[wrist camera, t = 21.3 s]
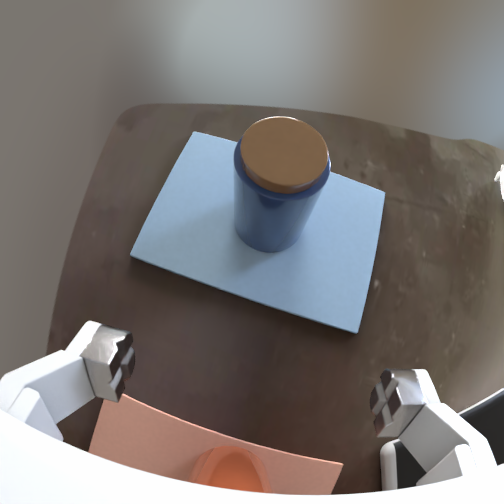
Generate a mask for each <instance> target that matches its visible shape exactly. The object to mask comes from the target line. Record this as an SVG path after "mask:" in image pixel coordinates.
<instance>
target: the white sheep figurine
mask: <svg viewBox="0 0 504 504" xmlns="http://www.w3.org/2000/svg"><path fill="white" fill-rule="evenodd" d="M494 181H495V182H497V181H500V186H501V192H502V196H503V200H504V165H503V164H502V166H501V170H500V172H498V173H497V174H496V177H495V179H494Z"/></svg>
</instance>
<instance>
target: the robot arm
mask: <svg viewBox="0 0 504 504" xmlns="http://www.w3.org/2000/svg"><path fill="white" fill-rule="evenodd" d="M132 343H133V336H132V333H131V332H129V331H125V330H122V329H118V328H115V327H111V326H108V325H104V324H100V323H97V322H93V321H88V322H86V323H85V324H84V326H83V327H82V328H81V330H80V331H79V332H78V334H77V335H76V336H75V338H74V339H73V340H72V342H71V343H70V344H69V346H68V347H67V349H66V350H65V351H62V350H60V351H58V352H55V353H53V354H51V355H48V356H46V357H44V358H41V359H39V360H37V361H34V362H32V363H30V364H27V365H25V366H23V367H20V368H18V369H16V370H14V371H11V372H9V373H6V374H5V375H4V376H3V378H2V379H1V380H0V504H504V463H503V464H501V465H498V466H497V464H496V462H495V459H494V456H493V454H492V451H491V449H490V446H489V444H488V441H487V439H486V438H485V437H484V436H483V435H481V434H480V433H479V432H478V431H477V430H475V429H474V428H473V427H472V426H471V425H470V424H468V423H467V422H466V421H465V420H464V419H462V418H461V417H460V416H459V415H458V414H456V413H455V412H454V411H453V410H452V409H450V408H449V407H448V406H447V405H446V404H444V403H440V400H439V398H438V395H437V393H436V391H435V388H434V386H433V384H432V381H431V379H430V377H429V374H428V372H427V371H426V370H425V369H412V370H411V369H386V370H384V371H383V373H382V374H381V376H380V378H381V382H380V383H378V384H377V385H375V387H374V389H373V390H372V392H371V397H370V408H371V412H372V413H373V414H374V415H375V416H376V419H375V420H374V426H375V431H376V435H377V437H399V440H400V441H401V442H402V443H403V444H404V446H405V447H406V448H407V449H408V451H409V452H410V453H411V454H412V455H413V457H414V458H415V459H416V460H417V462H418V463H419V464H420V465H421V466H422V468H423V469H424V470H425V471H426V472H427V474H425V475H424V476H423V477H422V478H421V479H420V480H418V482H417V483H416V487H410V488H403V489H396V490H389V491H380V492H370V493H358V494H341V495H289V494H271V493H259V492H249V491H240V490H232V489H225V488H218V487H212V486H206V485H201V484H196V483H190V482H186V481H181V480H176V479H172V478H168V477H164V476H160V475H156V474H152V473H149V472H145V471H141V470H138V469H135V468H131V467H128V466H125V465H122V464H119V463H116V462H113V461H110V460H107V459H104V458H101V457H99V456H96V455H93V454H91V453H88V452H86V451H83V450H81V449H78V448H76V447H73V446H71V445H69V444H66V443H64V442H62V441H63V436H62V434H61V433H60V431H59V429H58V428H57V426H56V423H58V422H59V421H61V420H62V419H64V418H65V417H67V416H68V415H70V414H71V413H73V412H74V411H76V410H77V409H79V408H80V407H81V406H83V405H84V404H86V403H87V402H89V401H90V400H92V399H93V398H95V396H96V397H99V398H103V399H106V400H109V401H113V402H116V403H118V402H119V400H120V398H121V396H122V394H123V392H124V390H125V384H124V381H126V380H128V379H129V378H130V377H131V375H132V373H133V369H134V365H135V351H134V350H133V349H132V348H131V345H132Z"/></svg>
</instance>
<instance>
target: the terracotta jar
mask: <svg viewBox="0 0 504 504" xmlns="http://www.w3.org/2000/svg"><path fill="white" fill-rule="evenodd" d="M186 482H190V483H196V484H201V485H206V486H212V487H218V488H225V489H232V490H240V491H249V492H259V493H271V494H274V493H273V490H272V487H271V483H270V480H269V477H268V473H267V470H266V467H265V465H264V464H263V462H262V461H261V460H260V459H259V457H257V456H256V455H255V454H254V453H252V452H250V451H248V450H246V449H244V448H240V447H236V446H220V447H215V448H212V449H210V450H208V451H206V452H204V453H203V454H202V455H200V456H199V457H198V459H197V460H196V461H195V463H194V465H193V467H192V469H191V471H190V474H189V476H188V478H187V481H186Z"/></svg>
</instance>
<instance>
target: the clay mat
mask: <svg viewBox="0 0 504 504" xmlns="http://www.w3.org/2000/svg"><path fill="white" fill-rule="evenodd" d="M220 446H236V447H240V448H244V449H246V450H248V451H250V452H252V453H254V454H255V455H256V456H257V457H259V459H260V460H261V461H262V462H263V464H264V465H265V467H266V470H267V473H268V477H269V480H270V483H271V487H272V490H273V493H274V494H289V495H330V494H331V492H332V490H333V488H334V485H335V483H336V481H337V479H338V476H339V474H340V472H341V469H342V467H343V464H342V463H338V462H332V461H326V460H320V459H315V458H310V457H305V456H301V455H296V454H292V453H287V452H283V451H279V450H275V449H271V448H267V447H264V446H260V445H256V444H253V443H249V442H246V441H243V440H239V439H236V438H233V437H230V436H227V435H224V434H221V433H218V432H215V431H212V430H209V429H206V428H203V427H200V426H198V425H195V424H192V423H190V422H187V421H184V420H182V419H179V418H177V417H174V416H172V415H169V414H167V413H165V412H162V411H160V410H157V409H155V408H153V407H151V406H148V405H146V404H144V403H142V402H139V401H137V400H135V399H133V398H131V397H129V396H127V395H125V394H122V396H121V398H120V400H119V402H118V403H116V402H113V401H109V400H106V399H104V401H103V404H102V407H101V411H100V414H99V417H98V420H97V424H96V427H95V430H94V434H93V437H92V441H91V444H90V448H89V452H88V453H91V454H93V455H96V456H99V457H101V458H104V459H107V460H110V461H113V462H116V463H119V464H122V465H125V466H128V467H131V468H135V469H138V470H141V471H145V472H149V473H152V474H156V475H160V476H164V477H168V478H172V479H176V480H181V481H187V478H188V476H189V474H190V471H191V469H192V467H193V465H194V463H195V461H196V460H197V459H198V457H199V456H200V455H202V454H203V453H204V452H206V451H208V450H210V449H212V448H215V447H220Z"/></svg>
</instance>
